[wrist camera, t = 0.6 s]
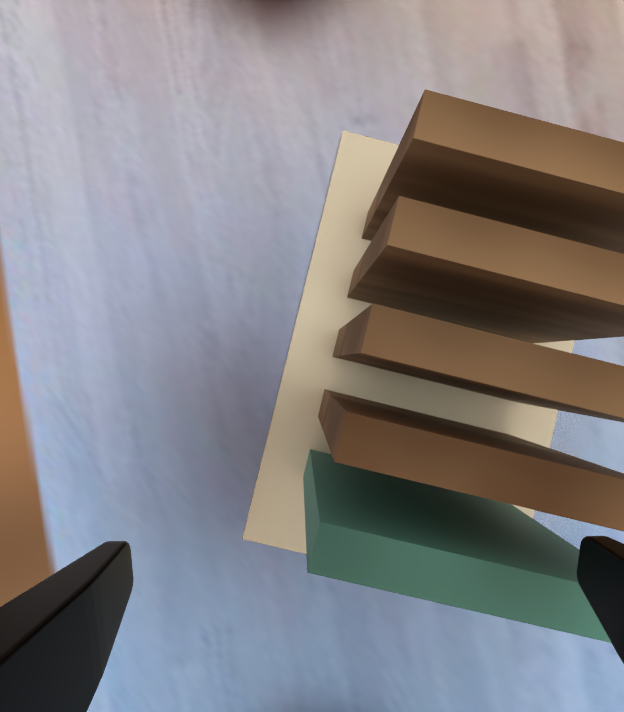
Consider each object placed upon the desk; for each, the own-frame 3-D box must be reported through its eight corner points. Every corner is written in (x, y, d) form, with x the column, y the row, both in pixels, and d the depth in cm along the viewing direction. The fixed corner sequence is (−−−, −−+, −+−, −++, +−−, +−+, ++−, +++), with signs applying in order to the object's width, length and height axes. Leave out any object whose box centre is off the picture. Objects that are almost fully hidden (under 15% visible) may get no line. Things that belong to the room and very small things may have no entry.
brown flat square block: (516, 402, 25) (693, 435, 14) (332, 356, 24) (360, 352, 13) (522, 375, 25) (704, 386, 14) (339, 329, 24) (372, 303, 13)
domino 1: (544, 285, 25) (740, 224, 14) (361, 238, 24) (413, 137, 13) (550, 258, 25) (751, 176, 14) (367, 211, 24) (424, 89, 14)
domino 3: (502, 461, 25) (668, 542, 14) (317, 416, 24) (334, 462, 13) (509, 434, 25) (679, 493, 14) (324, 389, 24) (346, 411, 13)
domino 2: (530, 343, 25) (716, 328, 14) (347, 297, 24) (387, 244, 13) (536, 316, 25) (727, 281, 14) (353, 270, 24) (398, 195, 13)
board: (506, 594, 25) (513, 602, 24) (243, 533, 25) (242, 538, 24) (597, 205, 26) (607, 199, 25) (341, 137, 25) (343, 130, 25)
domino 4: (488, 520, 24) (644, 650, 13) (303, 476, 24) (307, 572, 13) (495, 493, 25) (655, 600, 14) (309, 449, 24) (319, 522, 13)
